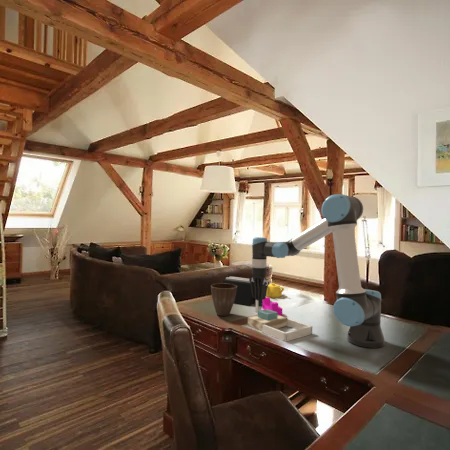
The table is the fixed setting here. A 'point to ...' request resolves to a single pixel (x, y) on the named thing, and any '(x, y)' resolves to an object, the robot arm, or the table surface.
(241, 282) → the device stand
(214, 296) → the plant pot
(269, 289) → the teapot
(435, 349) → the table surface
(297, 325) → the box
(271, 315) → the teal rectangular block
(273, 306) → the magenta notched bracket
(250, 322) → the plate
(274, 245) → the robot arm
